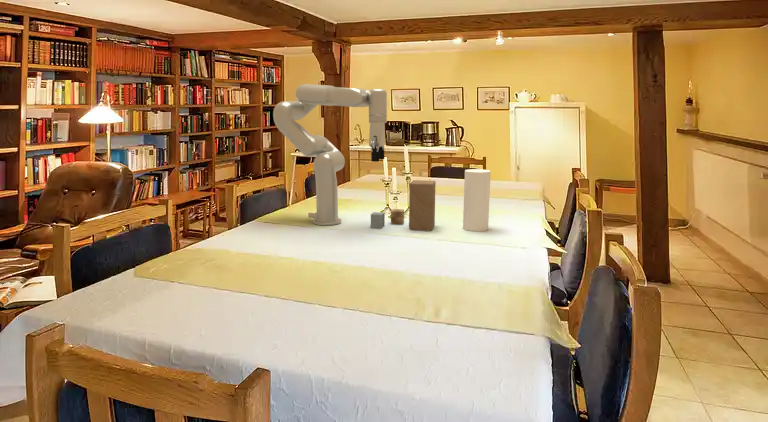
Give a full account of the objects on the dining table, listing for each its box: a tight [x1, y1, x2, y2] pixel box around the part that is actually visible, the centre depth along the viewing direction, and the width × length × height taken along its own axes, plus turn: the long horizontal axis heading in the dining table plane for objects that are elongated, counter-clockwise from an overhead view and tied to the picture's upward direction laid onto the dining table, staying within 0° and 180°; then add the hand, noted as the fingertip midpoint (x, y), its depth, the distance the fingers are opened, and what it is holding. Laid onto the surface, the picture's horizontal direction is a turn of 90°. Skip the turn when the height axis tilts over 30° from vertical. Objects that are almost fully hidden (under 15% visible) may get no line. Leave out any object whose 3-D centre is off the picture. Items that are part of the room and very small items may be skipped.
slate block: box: [370, 211, 386, 229], centre depth 223 cm, size 5×5×6 cm
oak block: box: [390, 208, 405, 226], centre depth 231 cm, size 5×5×6 cm
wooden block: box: [408, 179, 436, 232], centre depth 221 cm, size 10×10×20 cm
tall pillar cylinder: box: [462, 168, 492, 232], centre depth 219 cm, size 11×11×25 cm
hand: (378, 160), depth 218 cm, fingers open, 9 cm apart
